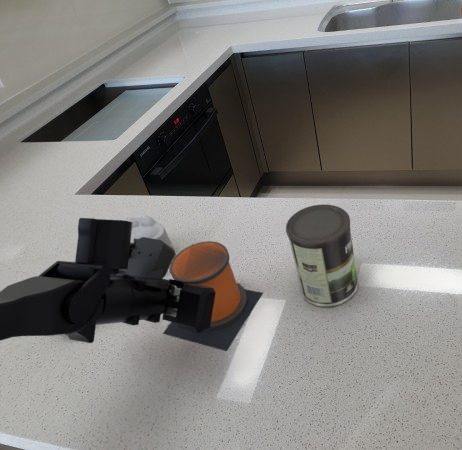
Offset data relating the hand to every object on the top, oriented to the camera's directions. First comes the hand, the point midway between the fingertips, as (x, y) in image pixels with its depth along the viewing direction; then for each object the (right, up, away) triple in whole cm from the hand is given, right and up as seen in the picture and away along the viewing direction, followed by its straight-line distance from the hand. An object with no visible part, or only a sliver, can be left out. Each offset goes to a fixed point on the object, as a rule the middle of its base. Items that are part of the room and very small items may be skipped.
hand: (190, 296), depth 74 cm
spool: (+3, -3, +8) cm, 9 cm away
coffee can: (+23, +1, +7) cm, 24 cm away
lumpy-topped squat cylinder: (-15, +4, +23) cm, 27 cm away
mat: (+3, -4, +7) cm, 8 cm away
